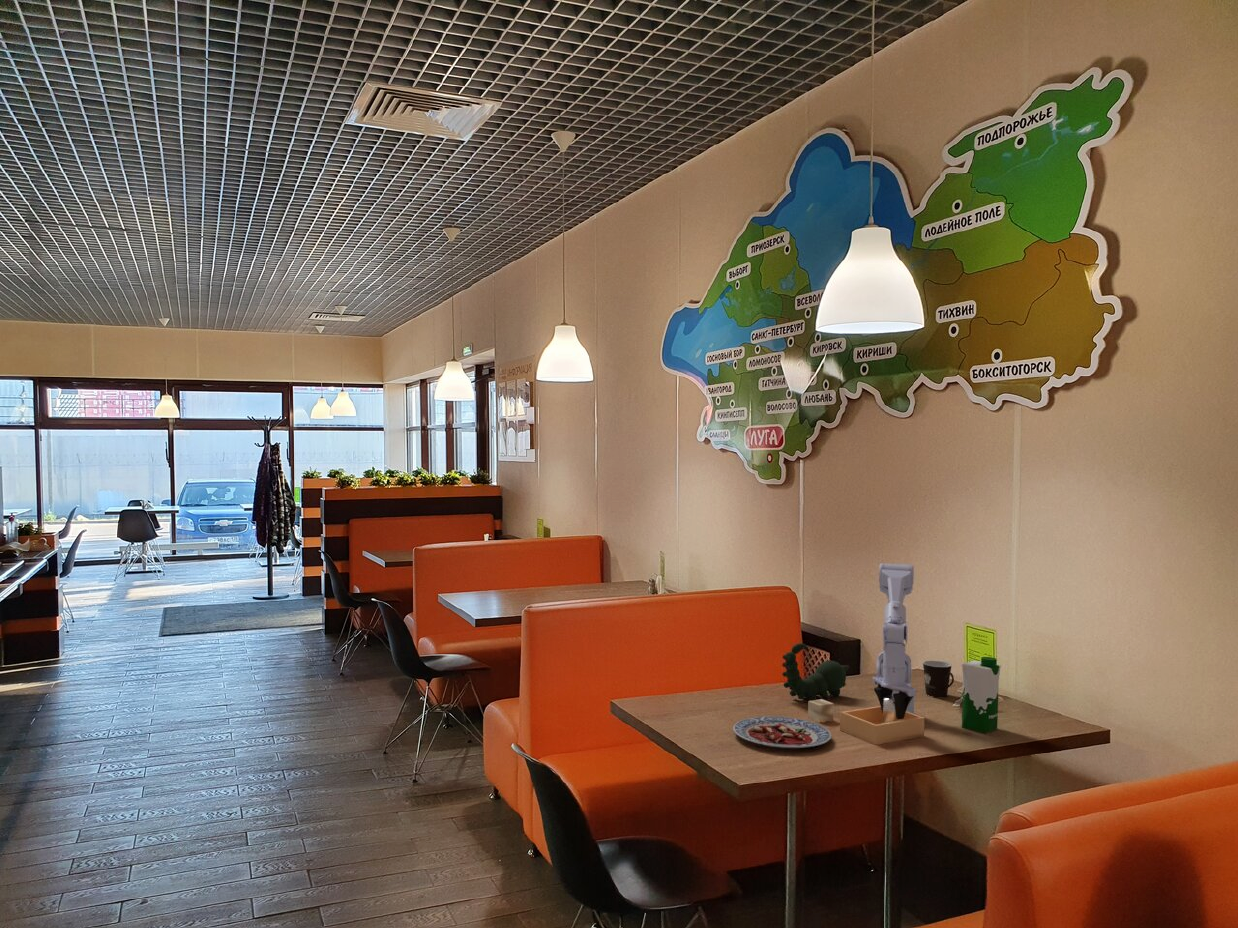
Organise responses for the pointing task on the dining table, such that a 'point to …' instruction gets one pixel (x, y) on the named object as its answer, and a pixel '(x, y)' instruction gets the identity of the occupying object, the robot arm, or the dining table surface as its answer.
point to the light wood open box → (880, 726)
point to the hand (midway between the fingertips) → (892, 715)
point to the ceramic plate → (782, 732)
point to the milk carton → (980, 694)
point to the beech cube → (820, 710)
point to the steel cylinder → (889, 709)
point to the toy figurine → (813, 677)
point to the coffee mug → (937, 678)
